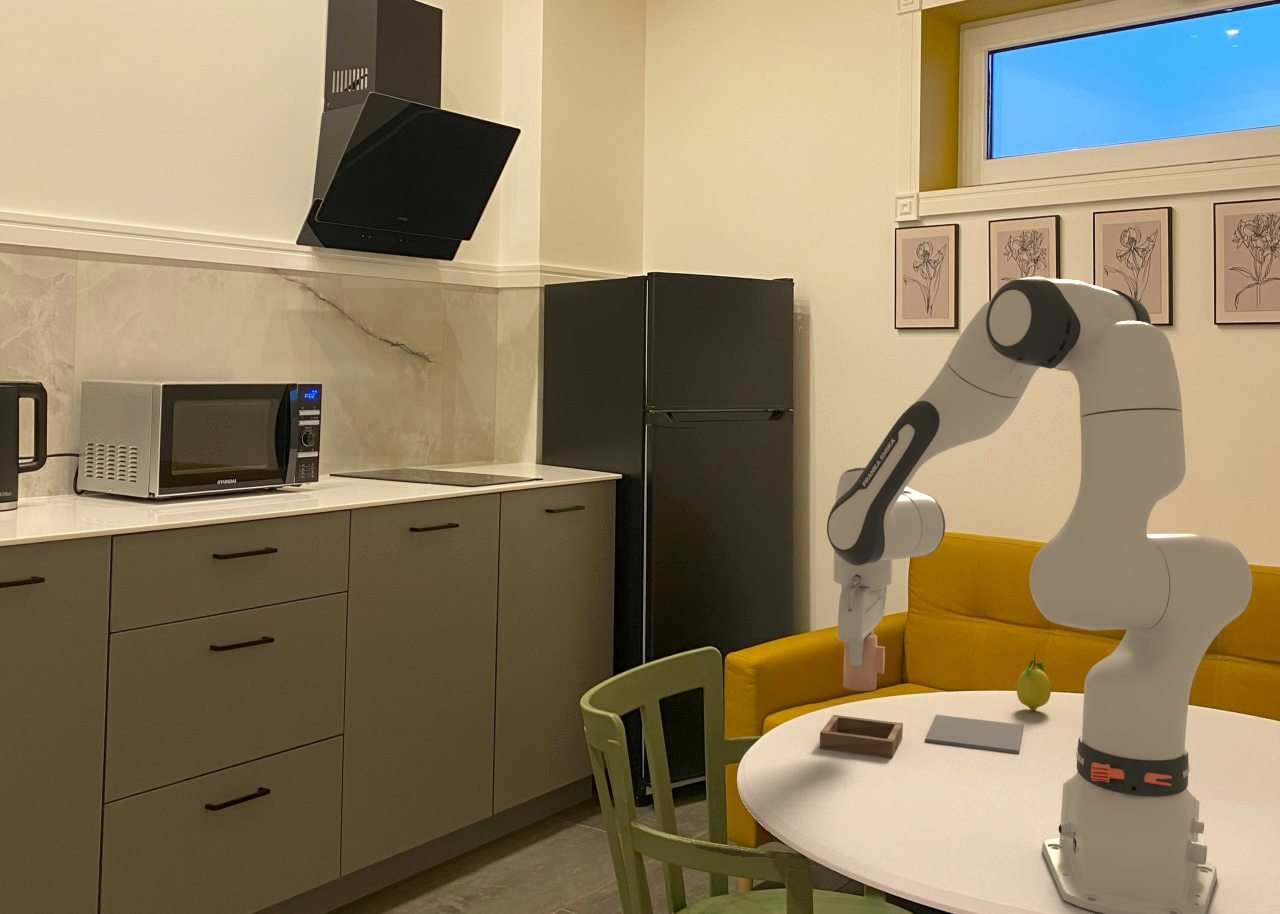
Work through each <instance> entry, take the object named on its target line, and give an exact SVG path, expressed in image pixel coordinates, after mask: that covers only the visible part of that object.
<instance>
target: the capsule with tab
mask: <svg viewBox="0 0 1280 914" xmlns="http://www.w3.org/2000/svg"><path fill="white" fill-rule="evenodd" d="M843 643H844V645H843V647H844V648H843V652H844V653H843V680H842V681H843V685H842V686H843V687H844V688H845V689H847V690H852V691H858V692H869V691H874V690H876V689H877V674H882V675H883V674H885V658H886V657H885V652H886V649H885V648H886V646H880V645H878V635H876V634H875V633H873V634H871V633H869V634H868V635H867V636H866V638H865V639H864V643H863V653H864V657H863V663H862V665H860V666H855V665H851V663H850V651H849V645H848V642H843Z"/></svg>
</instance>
